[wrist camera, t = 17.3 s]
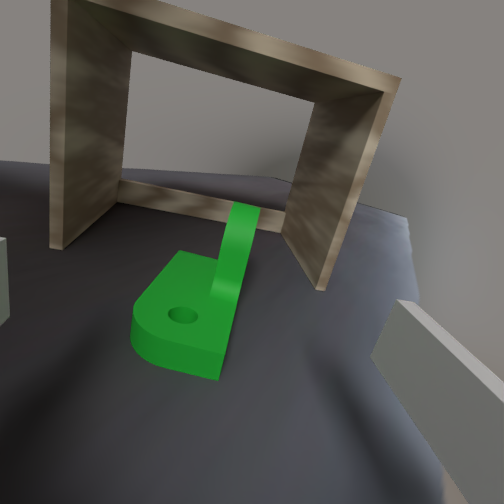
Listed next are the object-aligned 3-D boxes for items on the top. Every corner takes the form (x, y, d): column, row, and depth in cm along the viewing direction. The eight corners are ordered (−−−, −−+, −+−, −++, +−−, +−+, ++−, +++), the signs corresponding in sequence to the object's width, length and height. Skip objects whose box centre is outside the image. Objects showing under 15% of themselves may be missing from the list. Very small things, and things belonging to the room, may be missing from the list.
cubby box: (49, 248, 26) (50, -34, 20) (111, 198, 43) (123, 36, 36) (324, 291, 31) (401, 78, 24) (285, 232, 48) (324, 94, 41)
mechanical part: (176, 270, 28) (190, 183, 26) (240, 286, 29) (262, 201, 26) (110, 357, 17) (124, 219, 14) (217, 383, 17) (251, 251, 15)
